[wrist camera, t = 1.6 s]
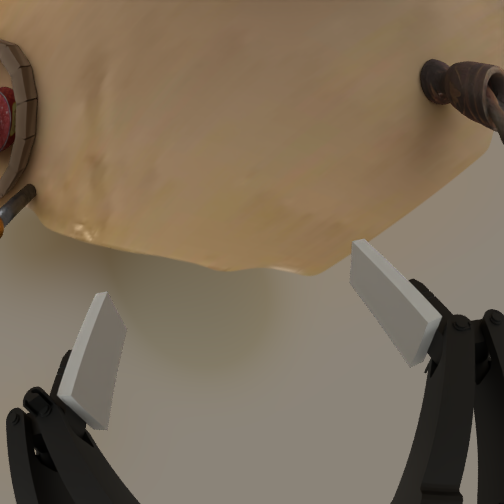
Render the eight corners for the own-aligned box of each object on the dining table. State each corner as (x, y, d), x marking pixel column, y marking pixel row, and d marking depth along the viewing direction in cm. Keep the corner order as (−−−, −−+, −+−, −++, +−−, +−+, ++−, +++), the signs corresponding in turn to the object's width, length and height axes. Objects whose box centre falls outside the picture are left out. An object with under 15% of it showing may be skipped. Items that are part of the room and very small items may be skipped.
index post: (20, 179, 28) (-28, 222, 19) (38, 180, 29) (-10, 224, 19) (23, 201, 30) (-21, 247, 20) (40, 202, 31) (-3, 251, 21)
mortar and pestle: (434, 132, 33) (533, 188, 17) (399, 103, 30) (514, 149, 14) (458, 78, 27) (559, 113, 11) (425, 45, 24) (539, 63, 8)
